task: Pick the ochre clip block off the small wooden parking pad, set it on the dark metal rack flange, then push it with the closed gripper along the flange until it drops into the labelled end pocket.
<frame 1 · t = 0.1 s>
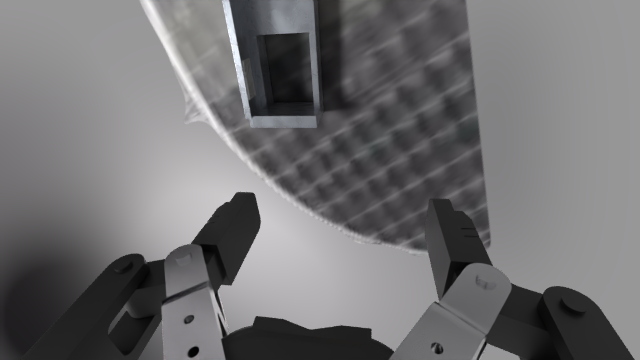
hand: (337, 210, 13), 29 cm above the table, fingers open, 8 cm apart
rack: (286, 13, 35), on the table
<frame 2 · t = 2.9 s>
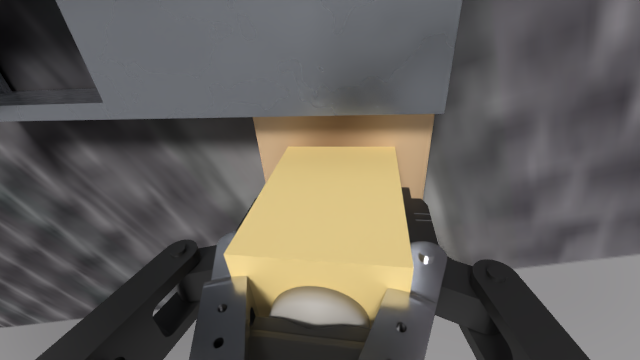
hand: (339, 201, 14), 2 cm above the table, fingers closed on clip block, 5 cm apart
rack: (161, 10, 13), on the table
clip block: (341, 191, 14), point 1 cm above the table, touching gripper, parking pad
parking pad: (344, 176, 16), on the table
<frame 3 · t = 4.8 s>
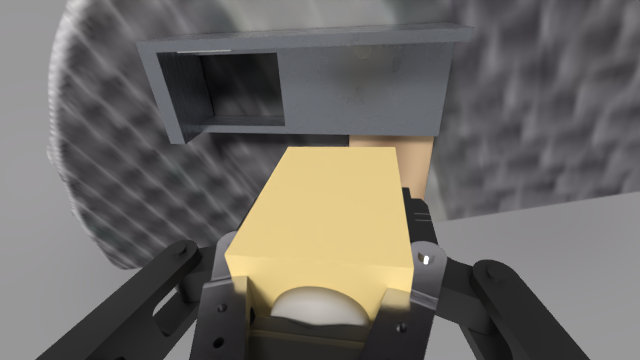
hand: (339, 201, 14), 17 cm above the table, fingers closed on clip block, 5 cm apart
rack: (309, 83, 28), on the table
clip block: (341, 191, 14), point 16 cm above the table, touching gripper
parking pad: (387, 163, 31), on the table
when the fingers open (5 cm above the table, at t = 6.7 s): clip block drops 1 cm, resting on rack.
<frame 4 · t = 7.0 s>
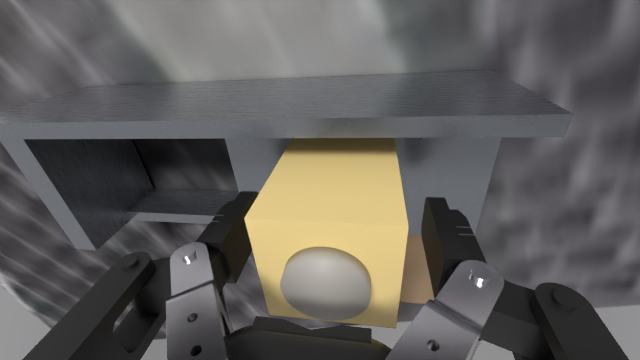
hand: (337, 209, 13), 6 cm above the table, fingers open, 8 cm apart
rack: (280, 152, 19), on the table
clip block: (344, 175, 16), point 3 cm above the table, touching rack
parking pad: (394, 251, 22), on the table
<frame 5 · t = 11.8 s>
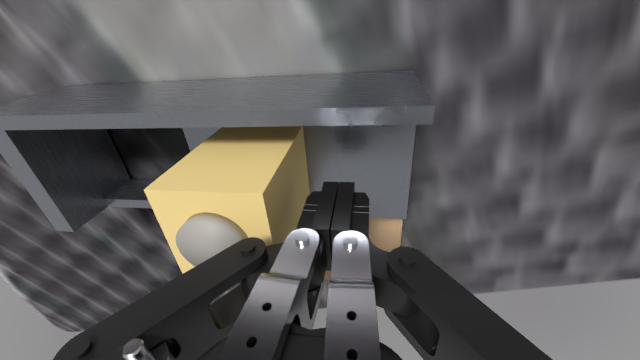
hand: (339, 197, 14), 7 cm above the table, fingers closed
rack: (240, 144, 21), on the table
clip block: (268, 163, 18), point 3 cm above the table, touching rack
parking pad: (349, 236, 24), on the table
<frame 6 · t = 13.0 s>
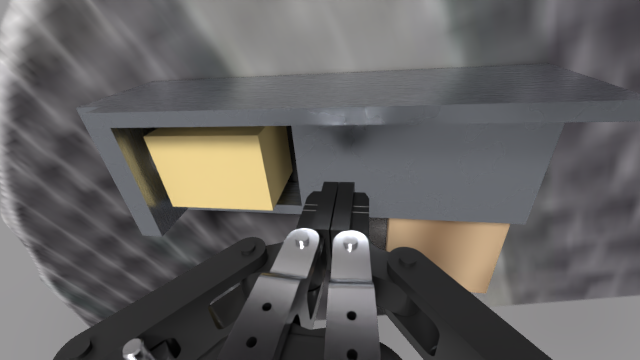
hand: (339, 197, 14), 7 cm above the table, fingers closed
rack: (333, 144, 20), on the table
clip block: (278, 156, 18), point 2 cm above the table, tilted 90°
parking pad: (437, 240, 23), on the table
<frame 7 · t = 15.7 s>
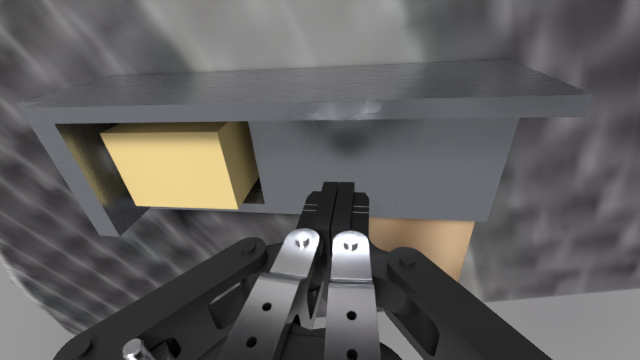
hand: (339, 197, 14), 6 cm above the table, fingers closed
rack: (298, 141, 20), on the table
clip block: (244, 153, 18), point 2 cm above the table, tilted 90°
parking pad: (406, 238, 23), on the table
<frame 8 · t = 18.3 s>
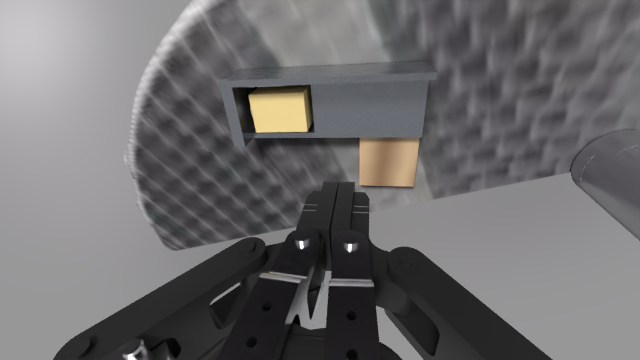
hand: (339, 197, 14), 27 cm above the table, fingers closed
rack: (330, 102, 39), on the table
clip block: (309, 106, 37), point 2 cm above the table, tilted 90°
parking pad: (387, 157, 42), on the table
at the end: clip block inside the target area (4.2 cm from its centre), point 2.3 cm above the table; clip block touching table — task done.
